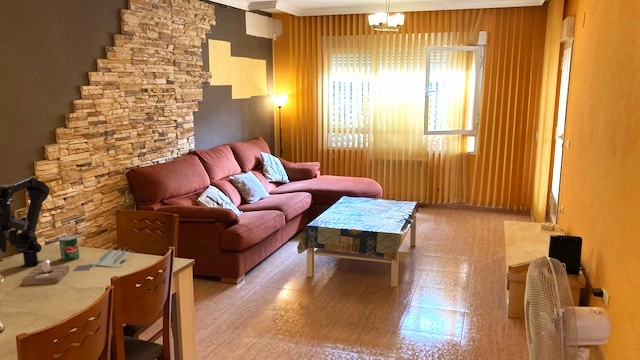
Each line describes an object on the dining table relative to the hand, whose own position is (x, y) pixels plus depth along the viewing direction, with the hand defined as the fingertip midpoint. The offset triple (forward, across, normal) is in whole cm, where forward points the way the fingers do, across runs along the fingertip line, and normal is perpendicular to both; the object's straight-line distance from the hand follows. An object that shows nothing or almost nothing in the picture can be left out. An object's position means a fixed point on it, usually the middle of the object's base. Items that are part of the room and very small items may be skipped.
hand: (9, 249), depth 223 cm
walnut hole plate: (+12, -8, -17) cm, 22 cm away
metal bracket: (+12, +6, -41) cm, 43 cm away
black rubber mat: (+12, +1, -29) cm, 31 cm away
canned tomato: (+12, +16, -20) cm, 28 cm away
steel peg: (+12, -8, -17) cm, 22 cm away
